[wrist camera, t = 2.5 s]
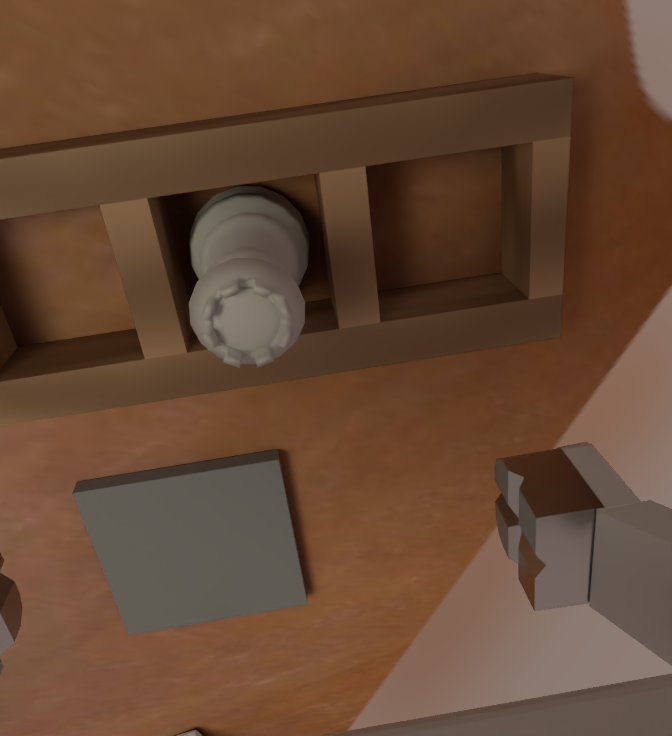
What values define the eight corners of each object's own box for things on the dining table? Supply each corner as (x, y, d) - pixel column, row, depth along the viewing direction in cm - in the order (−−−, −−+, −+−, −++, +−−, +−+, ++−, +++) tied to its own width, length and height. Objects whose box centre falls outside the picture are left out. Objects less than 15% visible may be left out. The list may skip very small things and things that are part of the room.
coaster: (77, 481, 28) (72, 493, 28) (278, 449, 29) (278, 459, 28) (131, 621, 32) (129, 634, 32) (306, 592, 33) (307, 604, 32)
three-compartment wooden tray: (-96, 162, 22) (-145, 179, 19) (536, 73, 22) (573, 77, 20) (1, 390, 26) (-28, 430, 23) (530, 307, 27) (560, 337, 24)
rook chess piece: (332, 226, 24) (362, 304, 17) (268, 317, 26) (272, 424, 19) (230, 157, 23) (217, 211, 16) (168, 258, 24) (131, 349, 17)
